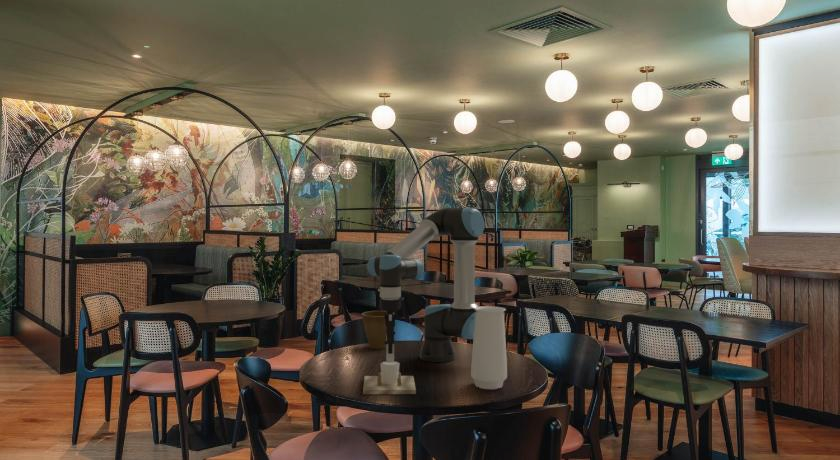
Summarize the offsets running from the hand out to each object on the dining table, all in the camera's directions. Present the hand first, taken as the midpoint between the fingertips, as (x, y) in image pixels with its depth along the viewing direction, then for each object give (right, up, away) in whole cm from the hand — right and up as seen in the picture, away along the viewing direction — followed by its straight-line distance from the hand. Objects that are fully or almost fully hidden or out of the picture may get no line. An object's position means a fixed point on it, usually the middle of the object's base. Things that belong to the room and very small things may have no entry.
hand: (390, 357), depth 212 cm
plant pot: (-9, -9, +64) cm, 65 cm away
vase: (+36, -11, +3) cm, 37 cm away
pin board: (0, -10, 0) cm, 10 cm away
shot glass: (0, -9, 0) cm, 9 cm away
